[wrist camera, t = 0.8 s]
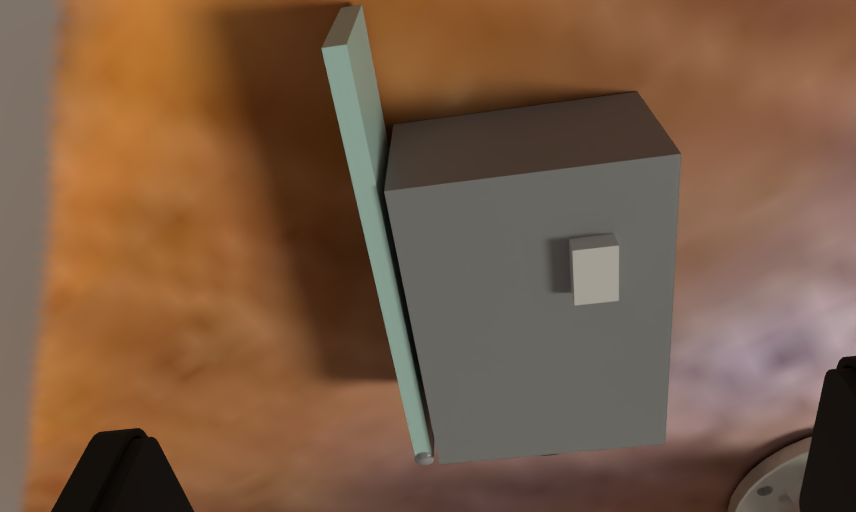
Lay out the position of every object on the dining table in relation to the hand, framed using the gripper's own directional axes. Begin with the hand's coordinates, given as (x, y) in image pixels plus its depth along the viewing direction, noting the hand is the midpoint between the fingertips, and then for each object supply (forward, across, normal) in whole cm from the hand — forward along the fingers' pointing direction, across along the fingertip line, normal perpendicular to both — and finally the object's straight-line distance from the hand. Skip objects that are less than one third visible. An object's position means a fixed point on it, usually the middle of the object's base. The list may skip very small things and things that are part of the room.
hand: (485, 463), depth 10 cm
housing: (+20, -2, +10) cm, 23 cm away
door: (+20, +4, +7) cm, 22 cm away
